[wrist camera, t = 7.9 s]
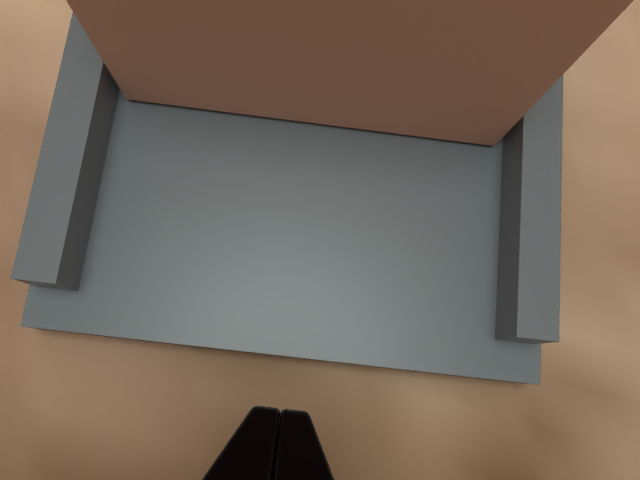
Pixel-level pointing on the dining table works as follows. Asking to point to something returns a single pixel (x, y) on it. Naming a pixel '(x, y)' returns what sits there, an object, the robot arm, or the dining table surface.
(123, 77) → the terracotta key block
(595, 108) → the dining table surface
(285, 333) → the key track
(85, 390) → the dining table surface
